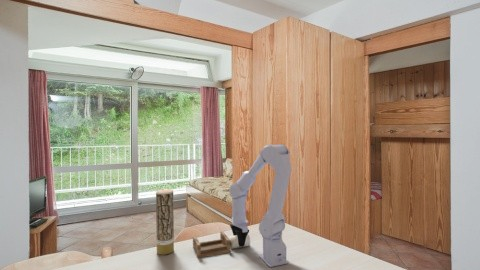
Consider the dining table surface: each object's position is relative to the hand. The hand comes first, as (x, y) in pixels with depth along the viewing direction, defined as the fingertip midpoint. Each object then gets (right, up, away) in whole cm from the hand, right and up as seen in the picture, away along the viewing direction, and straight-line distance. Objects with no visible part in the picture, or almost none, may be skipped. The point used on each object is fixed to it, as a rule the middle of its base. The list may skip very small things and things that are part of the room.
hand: (239, 243), depth 111 cm
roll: (0, -1, 0) cm, 1 cm away
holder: (-12, -2, -3) cm, 12 cm away
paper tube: (-31, -2, -4) cm, 31 cm away
